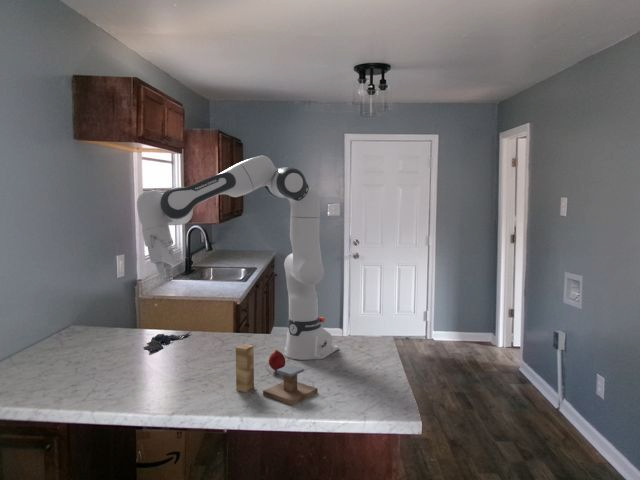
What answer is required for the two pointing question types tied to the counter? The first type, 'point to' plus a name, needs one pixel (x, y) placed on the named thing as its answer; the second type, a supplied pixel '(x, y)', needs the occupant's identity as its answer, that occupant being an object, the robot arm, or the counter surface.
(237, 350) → the wooden rod
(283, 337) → the counter surface
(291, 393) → the pedestal
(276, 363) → the onion
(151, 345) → the decorative bat
